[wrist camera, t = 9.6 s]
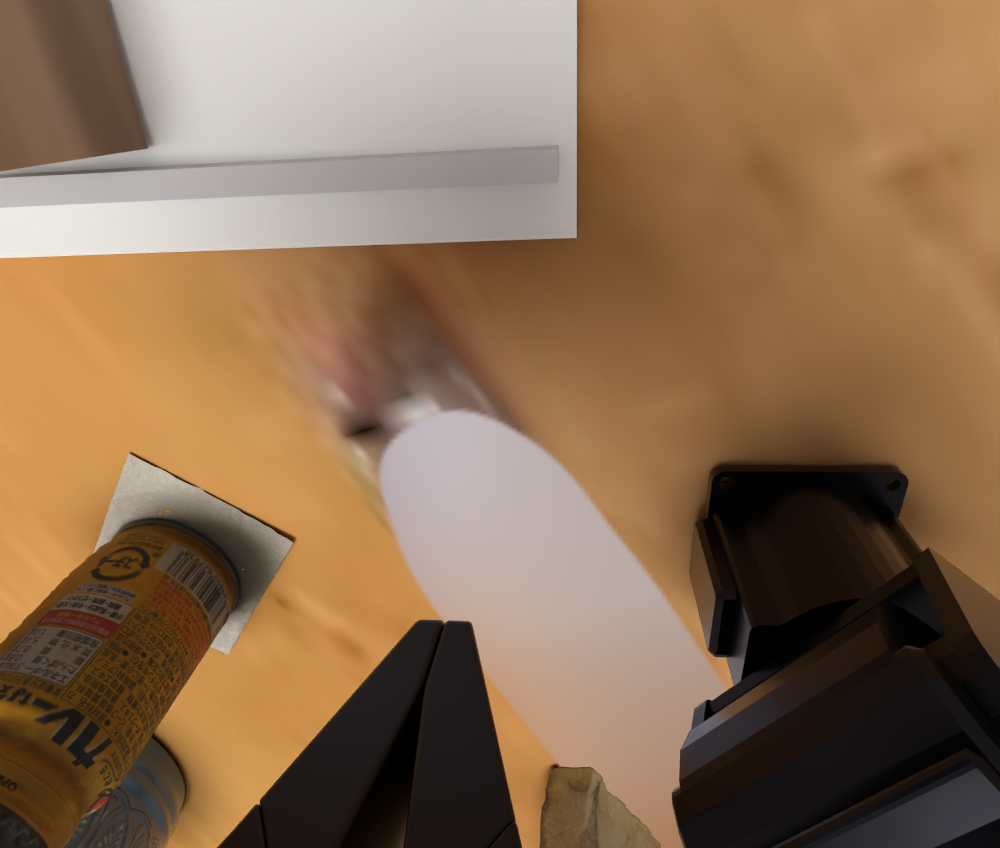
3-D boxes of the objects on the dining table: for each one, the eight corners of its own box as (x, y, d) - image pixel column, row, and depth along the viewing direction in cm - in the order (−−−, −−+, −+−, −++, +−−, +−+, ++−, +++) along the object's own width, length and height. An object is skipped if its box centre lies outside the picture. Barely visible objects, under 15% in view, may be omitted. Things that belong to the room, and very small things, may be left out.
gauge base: (577, -275, 14) (580, -489, 9) (576, 230, 19) (578, 286, 14) (-298, -163, 17) (-695, -275, 11) (-91, 255, 22) (-300, 309, 17)
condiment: (83, 580, 29) (-196, 865, 18) (131, 451, 25) (-187, 716, 15) (230, 651, 30) (47, 953, 20) (296, 537, 26) (114, 838, 16)
